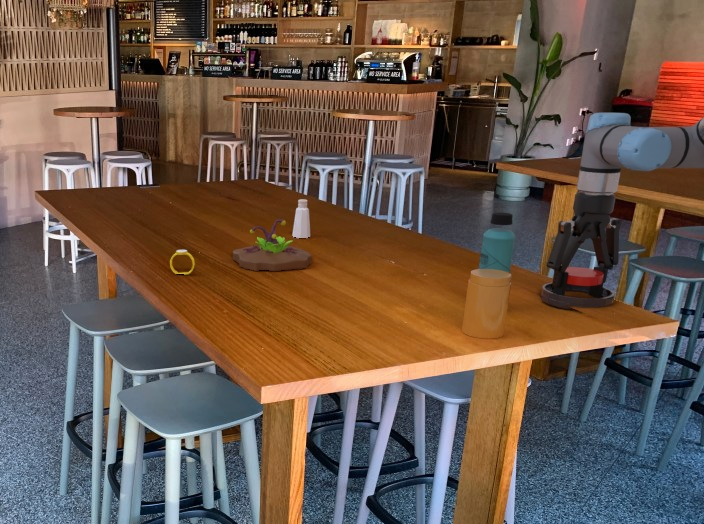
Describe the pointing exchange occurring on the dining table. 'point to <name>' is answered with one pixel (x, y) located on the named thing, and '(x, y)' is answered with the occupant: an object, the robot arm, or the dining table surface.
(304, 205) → the pepper shaker
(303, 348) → the dining table surface
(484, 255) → the beverage bottle
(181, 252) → the gold ring with gem
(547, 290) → the dark grey ring
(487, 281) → the jar
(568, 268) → the cap
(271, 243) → the plant
